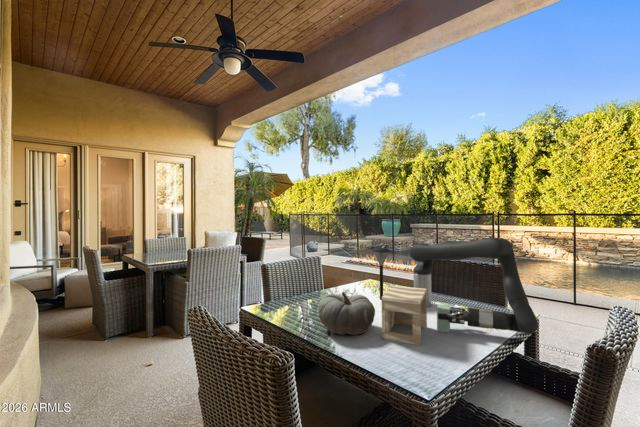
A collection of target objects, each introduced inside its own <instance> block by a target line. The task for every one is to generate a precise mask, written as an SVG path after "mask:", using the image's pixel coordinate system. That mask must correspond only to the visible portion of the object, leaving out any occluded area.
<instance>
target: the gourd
mask: <svg viewBox="0 0 640 427" xmlns="http://www.w3.org/2000/svg"><path fill="white" fill-rule="evenodd" d="M375 316H376V308H375V307H374V304H373V303H372V302H371V301H370V299H369V298H368V297H366V296H365V295H362V294H354V295H350V296H347V295H346V293H345V292H344V291H343V292H341V295H340V294H337V293H327V294H325V295H324V296H322V298H321V300H320V301H319V303H318V318H319V320H320V321H321V324H323V326H324V327H326V328H327V329H328V330H329V331H330V332H331V333H333V334H336V335H346V334H349V335H350V336H351V335H352V336H355V335H360V334H364V333H365V332H366V331H367V330H369V329H370V327H371V326H372V325H373V322H374V320H375Z"/></svg>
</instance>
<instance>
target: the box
mask: <svg viewBox="0 0 640 427" xmlns="http://www.w3.org/2000/svg"><path fill="white" fill-rule="evenodd" d="M427 308H428V307H427V289H423V288H414V286H413V287H410V286H399V285H392V286H391V287H390V288H389V289H388V290H387V291H386V292H385V293H383V296H382V300H381V339H382V340H385V341H386V340H388V341H391V342H392V341H394V342H397V343H398V342H399V343H404V344H405V343H406V344H412V345H417V346H421V345H422V328H426V329H427V328H428V315H427V313H428V310H427ZM395 324H396V325H402V326H403V325H405V326H410V327H411V326H412V334H408V333H401V332H394V331H391V330H392V329H393V328H394V326H395Z"/></svg>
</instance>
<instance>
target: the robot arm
mask: <svg viewBox="0 0 640 427" xmlns="http://www.w3.org/2000/svg"><path fill="white" fill-rule="evenodd" d="M409 256H410V258H411V260H414V261H416V262H418V263H417V264H416V266H414V267H413V288H423V289H427V308H428V307H431V306H432V270H433V266H434V260H437V261H463V260H469V259H473V258H485V259H493V260H498V262H499V265H500V267H501V270H502V277H503V278H502V284H503V285H502V286H503V290H504V294H505V296H506V300H507V302H508V305H509V306H510V308H511V309H512V312H513V313H507V312H504V311H497V310H491V309H490V310H489V309H485V308H477V307H468V308H467V311H466V309H465V308H461V307H453V306H450V314H449V315H448V316H447V314H438V319H442V320H448V321H449V323H450V324H456V325H457V324H458V325H465V322H466V323H467V326H469V327H473V328H481V329H493V330H499V331H500V330H501V331H511V332H517V333H522V334H533V333H535V332H537V330H538V329H539V322H538V319H537V316H536V315H535V312H534V311H533V309H532V307H531V306H530V303H529V300H528V297H527V295H526V291H525V289H524V286H523V283H522V281H521V278H520V274H519V271H518V266H517V261H516V257H515V252H514V248H513V245H512V243H511V241H509V239H506V238H503V237H488V238H484V239H479V240H478V239H477V240H456V241H455V240H452V241H446V242H445V241H444V242H441V243H436V244H428V243H420V244H419V243H418V244H414V245H413V246H412V247H410V250H409Z"/></svg>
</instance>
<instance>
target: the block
mask: <svg viewBox="0 0 640 427" xmlns="http://www.w3.org/2000/svg"><path fill="white" fill-rule="evenodd" d="M450 308H451V306H450V305H444V304H437V307H436V331H437V332H442V333H448V334H449V333H450V332H451V323H449V321H448V320H442V319H438V314H447V316H448V315H449V314H450Z"/></svg>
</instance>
